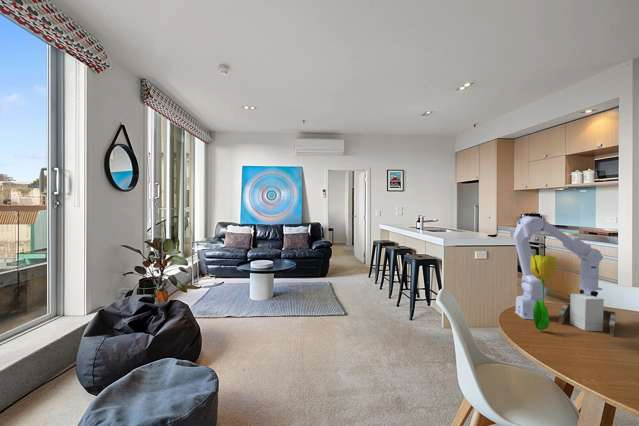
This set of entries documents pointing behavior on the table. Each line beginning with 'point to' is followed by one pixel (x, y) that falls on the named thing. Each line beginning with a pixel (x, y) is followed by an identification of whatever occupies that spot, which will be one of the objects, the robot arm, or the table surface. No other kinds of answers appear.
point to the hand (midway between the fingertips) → (588, 308)
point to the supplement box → (586, 312)
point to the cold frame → (607, 317)
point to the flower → (543, 271)
